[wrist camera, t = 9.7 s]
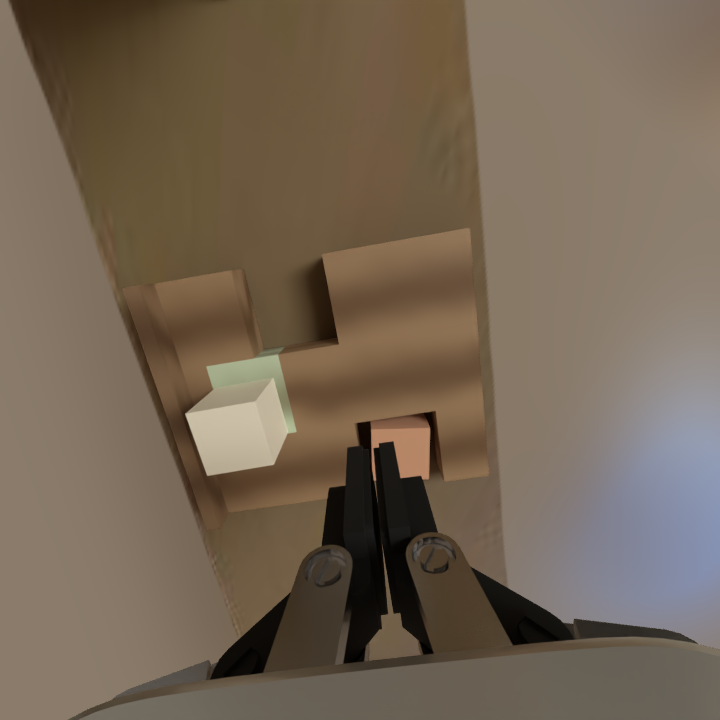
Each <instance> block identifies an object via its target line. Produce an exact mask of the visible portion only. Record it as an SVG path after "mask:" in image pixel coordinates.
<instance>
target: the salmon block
mask: <svg viewBox="0 0 720 720" xmlns="http://www.w3.org/2000/svg"><path fill="white" fill-rule="evenodd" d="M370 427H371V462H372V472H373V478H374V481H376V474H375V462H374V450H373V448H378V447H379V443H384V442H391V441H394V446H395V452H396V457H397V462H398V467H399V472H400V478H407V477H414V476H421V477H422V479H429V457H430V426H429V424H428V422H427V419H426V417H425V415H424V413H418V414H412V415H405V416H399V417H392V418H386V419H379V420H373V421H370Z"/></svg>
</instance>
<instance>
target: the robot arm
mask: <svg viewBox="0 0 720 720" xmlns="http://www.w3.org/2000/svg"><path fill="white" fill-rule="evenodd" d="M373 450H374V462H375V474H376V486H377V496H376V490H375V484H374V478H373V472H372V465H371V459H370V453H369V449H363V446H354V447H348V448H347V463H346V483H345V486H338V487H330V488H329V491H328V498H327V506H326V515H325V523H324V531H323V540H322V546H321V547H319V548H316V549H315V550H313V551H312V552H310V553H309V554H308V555H307V556H306V557H305V558H304V559H303V561H302V563H301V565H300V567H299V570H298V573H297V576H296V579H295V582H294V585H293V587H292V590H291V592H290V593H289V594H288V595H287V596H286V597H285V598H284V599H283V600H282V601H281V602H279V603H278V604H277V605H276V606H275V607H274V608H273V609H272V610H271V611H270V612H268V613H267V614H266V615H265V616H264V617H263V618H262V619H261V620H260V621H259V622H258V623H256V624H255V625H254V626H253V627H252V628H251V629H250V630H249V631H248V632H247V633H245V634H244V635H243V636H242V637H241V638H240V639H239V640H238V641H237V642H236V643H235V644H233V645H232V646H231V647H230V648H229V649H228V650H227V651H226V652H225V653H224V655H223V656H222V657H221V658H220V660H219V661H218V662H217V663H214V664H212V665H211V664H210V661H209V660H207V661H205V662H202V663H199V664H196V665H194V666H191V667H188V668H185V669H183V670H180V671H177V672H174V673H172V674H169V675H166V676H163V677H161V678H158V679H155V680H153V681H150V682H147V683H144V684H142V685H139V686H136V687H134V688H131V689H128V690H126V691H124V692H123V693H121V694H119V695H117V696H116V697H115V698H113V699H112V700H110V701H108V702H105V703H103V704H100V705H97V706H95V707H92V708H90V709H87V710H85V711H84V712H82V713H80V714H78V715H76V716H74V717H72V718H70V719H68V720H720V650H719V649H715V648H711V647H707V646H704V645H699V644H698V643H697V642H695V641H694V640H692V639H689V638H688V637H686V636H684V635H682V634H680V633H676V632H673V631H669V630H665V629H656V628H647V627H640V626H630V625H621V624H614V623H606V622H597V621H589V620H581V619H574V624H570V623H563V622H562V621H561V620H560V619H558V618H557V617H555V616H554V615H553V614H551V613H550V612H548V611H547V610H545V609H543V608H541V607H540V606H538V605H536V604H534V603H533V602H531V601H529V600H527V599H526V598H524V597H522V596H521V595H519V594H517V593H515V592H513V591H512V590H510V589H508V588H507V587H505V586H503V585H501V584H500V583H498V582H496V581H494V580H493V579H491V578H489V577H488V576H486V575H484V574H482V573H481V572H479V571H477V570H475V569H474V568H472V567H470V565H469V563H468V562H467V560H466V558H465V556H464V554H463V552H462V551H461V549H460V547H459V546H458V544H457V543H456V542H455V541H454V540H453V539H451V538H450V537H449V536H446V535H444V534H441V533H438V531H437V528H436V525H435V521H434V518H433V514H432V511H431V507H430V504H429V500H428V497H427V493H426V490H425V486H424V483H423V479H422V477H421V476H414V477H407V478H400V472H399V467H398V462H397V457H396V452H395V446H394V441H391V442H384V443H379V447H378V448H373ZM377 498H378V503H377ZM381 538H382V539H381ZM382 545H383V550H382ZM383 551H384V557H385V563H386V569H387V575H388V582H389V588H390V594H391V600H392V606H393V612H394V614H395V613H401V620H402V626H403V628H405V629H406V630H407V631H408V632H409V633H411V634H412V635H413V636H414V637H415V638H417V640H418V646H419V651H420V654H421V655H418V656H409V657H400V658H391V659H382V660H373V661H369V655H370V649H369V642H370V640H371V639H372V638H373V637H374V635H375V634H376V633H377V632H378V630H379V629H382V625H381V615H386V614H388V609H387V598H386V586H385V574H384V562H383Z"/></svg>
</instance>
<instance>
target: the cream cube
mask: <svg viewBox="0 0 720 720" xmlns="http://www.w3.org/2000/svg"><path fill="white" fill-rule="evenodd" d="M185 415H186V418H187V421H188V423H189V426H190V429H191V432H192V435H193V437H194V440H195V443H196V446H197V449H198V451H199V454H200V457H201V460H202V463H203V465H204V468H205V471H206V474H207V476H210V475H216V474H222V473H228V472H234V471H240V470H246V469H252V468H258V467H264V466H270V465H274V463H275V461H276V459H277V457H278V454H279V452H280V450H281V447H282V445H283V443H284V440H285V438H286V436H287V433H288V430H287V426H286V422H285V419H284V415H283V411H282V408H281V404H280V400H279V397H278V393H277V389H276V386H275V382H274V378H269V379H264V380H258V381H253V382H247V383H242V384H236V385H231V386H225V387H220V388H215V389H214V390H212V391H211V392H210V393H209V394H208V395H207V396H205V397H204V398H203V399H202V400H201V401H200V402H198V403H197V404H196V405H195V406H194V407H192V408H191V409H190V410H189V411H188V412H187V413H185Z"/></svg>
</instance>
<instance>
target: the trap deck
mask: <svg viewBox="0 0 720 720" xmlns="http://www.w3.org/2000/svg"><path fill="white" fill-rule="evenodd" d="M322 258H323V263H324V268H325V274H326V279H327V284H328V289H329V295H330V300H331V305H332V310H333V316H334V321H335V326H336V331H337V338H331V339H325V340H319V341H313V342H307V343H301V344H295V345H289V346H283V347H277V348H271V349H265V350H264V348H263V344H262V340H261V336H260V332H259V328H258V324H257V320H256V316H255V312H254V308H253V304H252V300H251V296H250V292H249V288H248V284H247V280H246V276H245V273H244V270H230V271H224V272H218V273H213V274H207V275H201V276H196V277H190V278H185V279H179V280H173V281H168V282H162V283H157V284H148V285H138V286H132V287H127V288H122V290H123V293H124V296H125V299H126V302H127V305H128V307H129V310H130V313H131V316H132V319H133V322H134V325H135V327H136V330H137V333H138V336H139V339H140V342H141V345H142V347H143V350H144V353H145V356H146V359H147V362H148V364H149V367H150V370H151V373H152V376H153V379H154V382H155V384H156V387H157V390H158V393H159V396H160V399H161V402H162V404H163V407H164V410H165V413H166V416H167V419H168V422H169V424H170V427H171V430H172V433H173V436H174V439H175V442H176V444H177V447H178V450H179V453H180V456H181V459H182V461H183V464H184V467H185V470H186V473H187V476H188V479H189V481H190V484H191V487H192V490H193V493H194V496H195V499H196V501H197V504H198V507H199V510H200V513H201V516H202V519H203V521H204V524H205V527H206V530H207V531H208V530H216V529H220V528H221V526H222V524H223V522H224V521H225V519H226V517H227V515H228V513H230V512H237V511H244V510H251V509H258V508H265V507H272V506H279V505H286V504H293V503H300V502H307V501H314V500H321V499H327V498H328V491H329V488H330V487H338V486H345V483H346V463H347V448H348V447H354V446H362V445H361V440H360V435H359V429H358V424H357V423H360V422H366V421H373V420H379V419H386V418H392V417H399V416H405V415H412V414H418V413H425V412H431V418H432V426H433V434H434V442H435V450H436V458H437V464H438V467H439V469H440V472H441V475H442V477H443V480H444V482H446V481H453V480H460V479H467V478H474V477H481V476H488V475H489V469H488V456H487V444H486V431H485V418H484V405H483V392H482V379H481V366H480V353H479V341H478V328H477V315H476V302H475V289H474V276H473V263H472V250H471V238H470V228H465V229H459V230H454V231H448V232H443V233H437V234H431V235H426V236H420V237H415V238H409V239H403V240H398V241H392V242H387V243H381V244H375V245H370V246H364V247H358V248H353V249H347V250H342V251H336V252H330V253H325V254H322ZM269 378H274V382H275V386H276V389H277V393H278V397H279V400H280V404H281V408H282V411H283V415H284V419H285V422H286V426H287V430H288V433H287V436H286V438H285V440H284V443H283V445H282V447H281V450H280V452H279V454H278V457H277V459H276V461H275V463H274V465H270V466H264V467H258V468H252V469H246V470H240V471H234V472H228V473H222V474H216V475H210V476H207V474H206V471H205V468H204V465H203V463H202V460H201V457H200V454H199V451H198V449H197V446H196V443H195V440H194V437H193V435H192V432H191V429H190V426H189V423H188V421H187V418H186V415H185V413H187V412H188V411H189V410H190V409H191V408H192V407H194V406H195V405H196V404H197V403H198V402H200V401H201V400H202V399H203V398H204V397H205V396H207V395H208V394H209V393H210V392H211V391H212V390H214V389H215V388H220V387H225V386H231V385H236V384H242V383H247V382H253V381H258V380H264V379H269Z"/></svg>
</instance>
